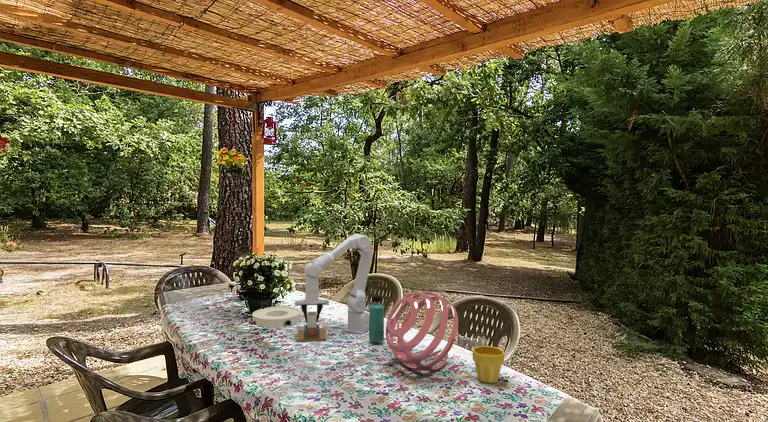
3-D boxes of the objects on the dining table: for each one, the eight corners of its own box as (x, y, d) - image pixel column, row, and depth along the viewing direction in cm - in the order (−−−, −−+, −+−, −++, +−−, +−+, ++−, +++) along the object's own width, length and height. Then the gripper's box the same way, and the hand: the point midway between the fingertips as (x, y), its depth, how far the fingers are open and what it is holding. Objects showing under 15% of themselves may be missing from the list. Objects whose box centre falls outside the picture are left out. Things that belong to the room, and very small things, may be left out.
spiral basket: (452, 299, 171) (407, 266, 159) (491, 337, 146) (441, 301, 134) (410, 353, 171) (361, 324, 159) (442, 399, 146) (387, 369, 134)
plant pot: (480, 370, 149) (481, 343, 148) (508, 378, 142) (509, 350, 142) (466, 379, 141) (467, 351, 140) (495, 388, 134) (496, 358, 134)
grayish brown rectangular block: (307, 329, 184) (307, 311, 184) (316, 329, 185) (316, 311, 185) (306, 332, 180) (307, 314, 180) (316, 332, 181) (316, 313, 181)
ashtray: (306, 315, 216) (306, 307, 216) (292, 328, 193) (292, 320, 193) (263, 313, 218) (263, 305, 218) (244, 326, 195) (244, 318, 195)
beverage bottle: (382, 346, 171) (383, 298, 170) (366, 345, 172) (367, 297, 172) (385, 341, 177) (386, 294, 177) (370, 339, 179) (370, 293, 178)
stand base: (298, 331, 188) (298, 322, 188) (325, 330, 190) (325, 321, 190) (297, 342, 175) (297, 332, 175) (326, 340, 177) (326, 331, 177)
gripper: (328, 288, 187) (328, 318, 188) (295, 289, 185) (295, 319, 185) (329, 291, 180) (328, 323, 181) (294, 292, 178) (294, 324, 178)
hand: (311, 321), depth 182 cm, fingers closed on grayish brown rectangular block, 4 cm apart
